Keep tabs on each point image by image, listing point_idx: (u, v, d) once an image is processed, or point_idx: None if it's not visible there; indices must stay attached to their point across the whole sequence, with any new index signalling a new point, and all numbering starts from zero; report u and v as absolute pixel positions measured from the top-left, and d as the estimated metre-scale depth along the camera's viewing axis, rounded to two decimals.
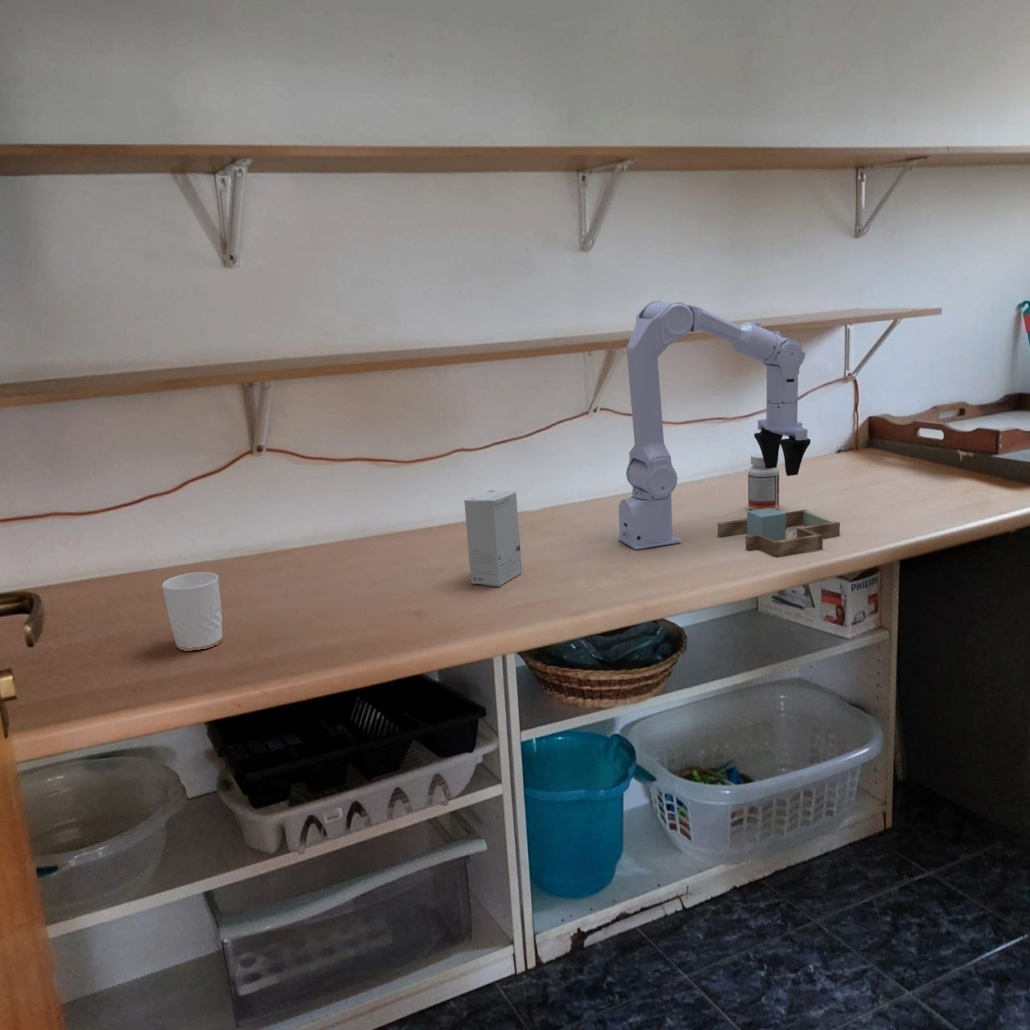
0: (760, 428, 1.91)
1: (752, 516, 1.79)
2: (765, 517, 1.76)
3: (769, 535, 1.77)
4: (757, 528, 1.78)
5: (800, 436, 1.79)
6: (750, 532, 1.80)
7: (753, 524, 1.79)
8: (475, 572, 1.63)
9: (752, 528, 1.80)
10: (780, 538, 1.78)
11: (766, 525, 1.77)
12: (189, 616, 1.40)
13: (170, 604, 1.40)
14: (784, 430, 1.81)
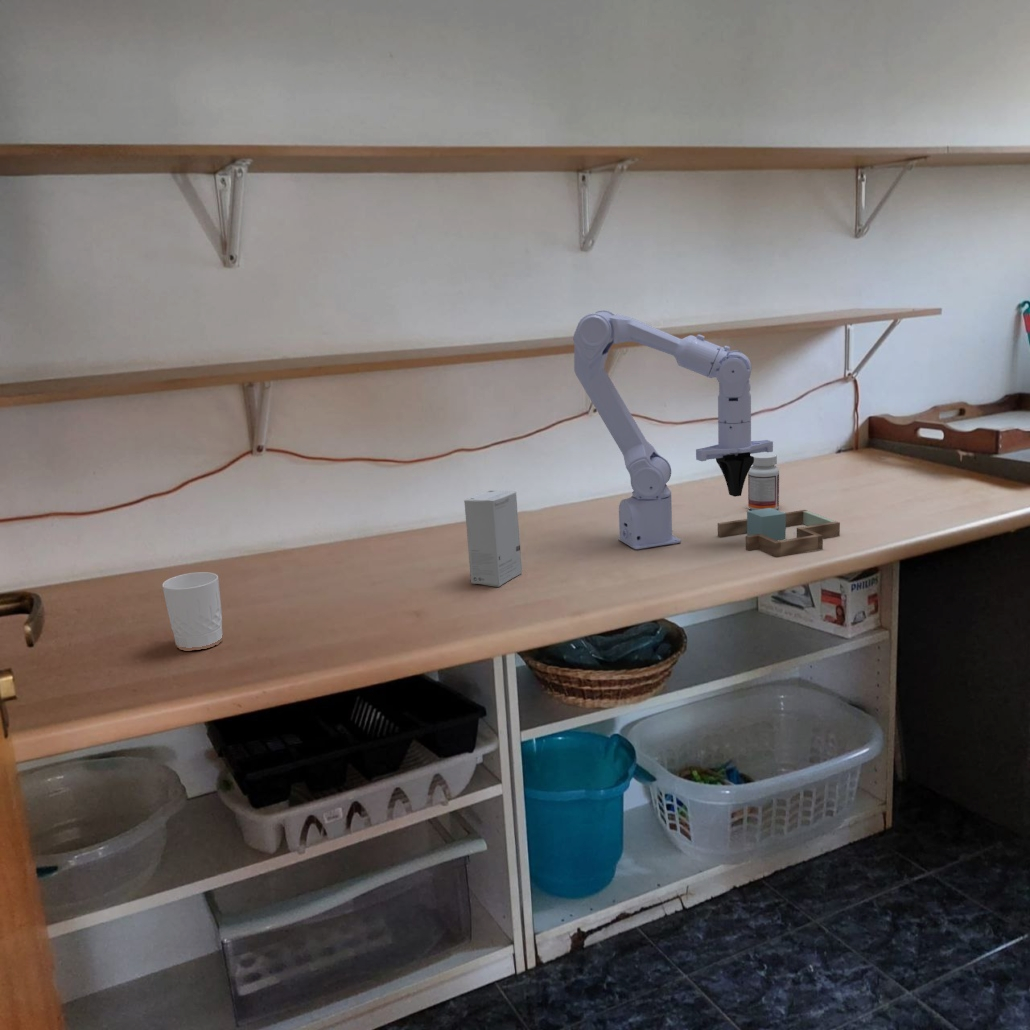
0: None
1: (752, 516, 1.79)
2: (765, 517, 1.76)
3: (769, 535, 1.77)
4: (757, 528, 1.78)
5: (697, 456, 1.72)
6: (750, 532, 1.80)
7: (753, 524, 1.79)
8: (475, 572, 1.63)
9: (752, 528, 1.80)
10: (780, 538, 1.78)
11: (766, 525, 1.77)
12: (189, 616, 1.40)
13: (170, 604, 1.40)
14: None
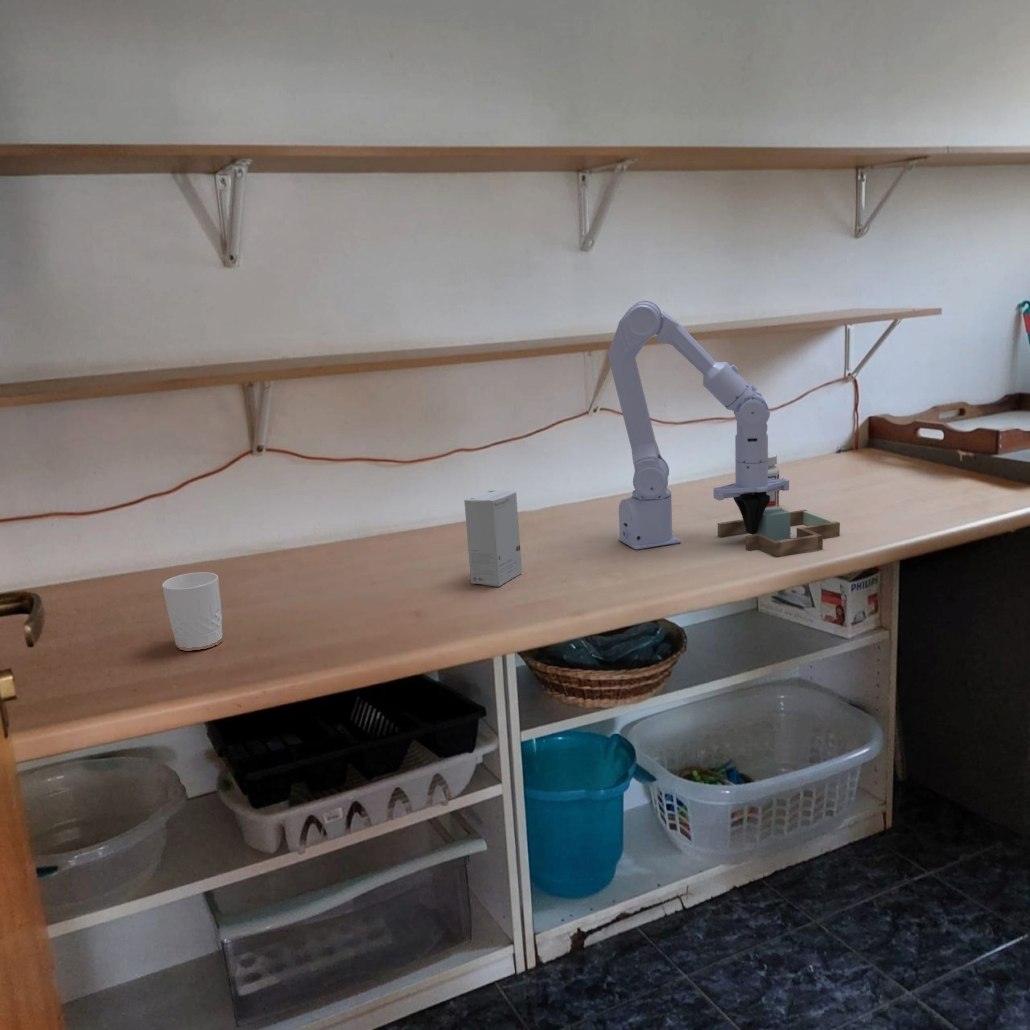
0: None
1: None
2: (770, 516, 1.76)
3: (774, 534, 1.77)
4: (762, 526, 1.78)
5: (714, 495, 1.75)
6: None
7: None
8: (475, 572, 1.63)
9: None
10: (785, 537, 1.78)
11: (771, 523, 1.77)
12: (189, 616, 1.40)
13: (170, 604, 1.40)
14: None
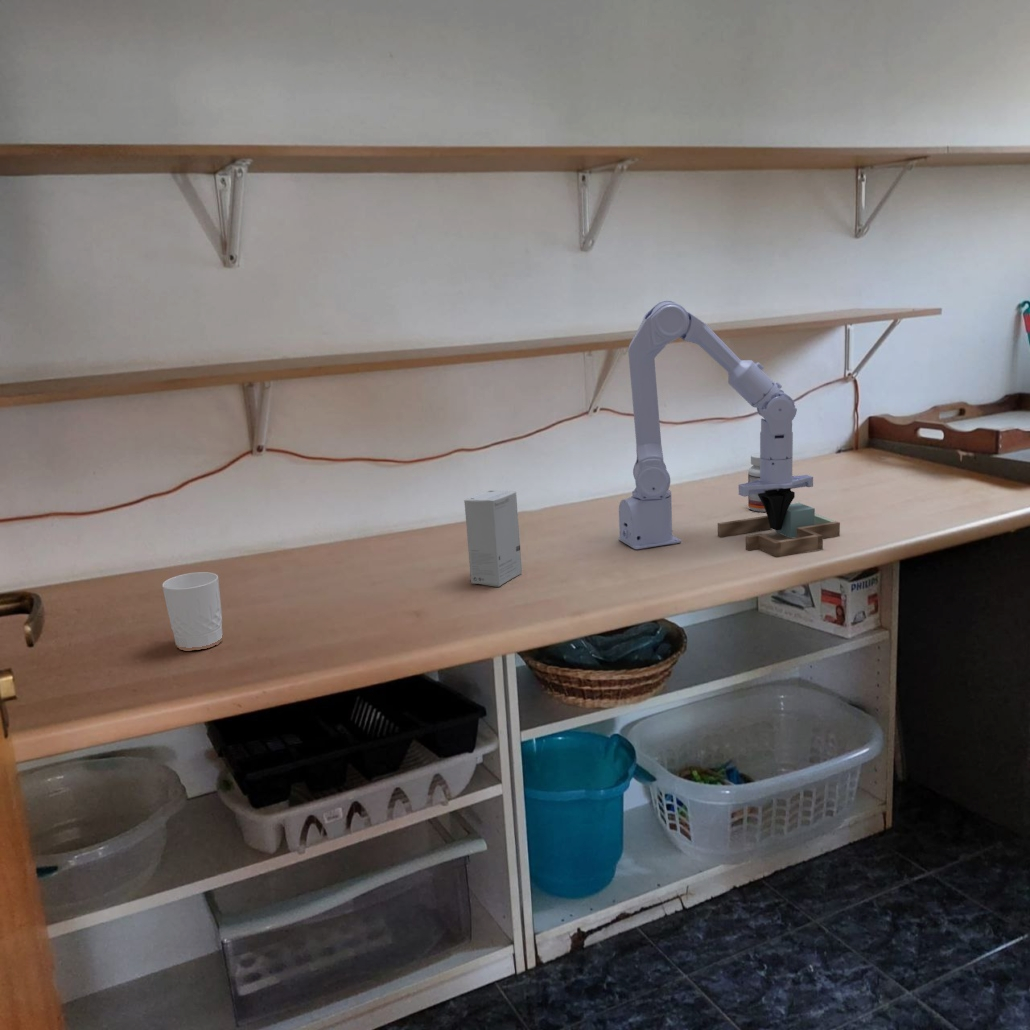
0: None
1: None
2: (794, 512, 1.78)
3: None
4: (786, 523, 1.79)
5: (739, 491, 1.77)
6: None
7: None
8: (475, 572, 1.63)
9: None
10: None
11: (795, 519, 1.78)
12: (189, 616, 1.40)
13: (170, 604, 1.40)
14: None
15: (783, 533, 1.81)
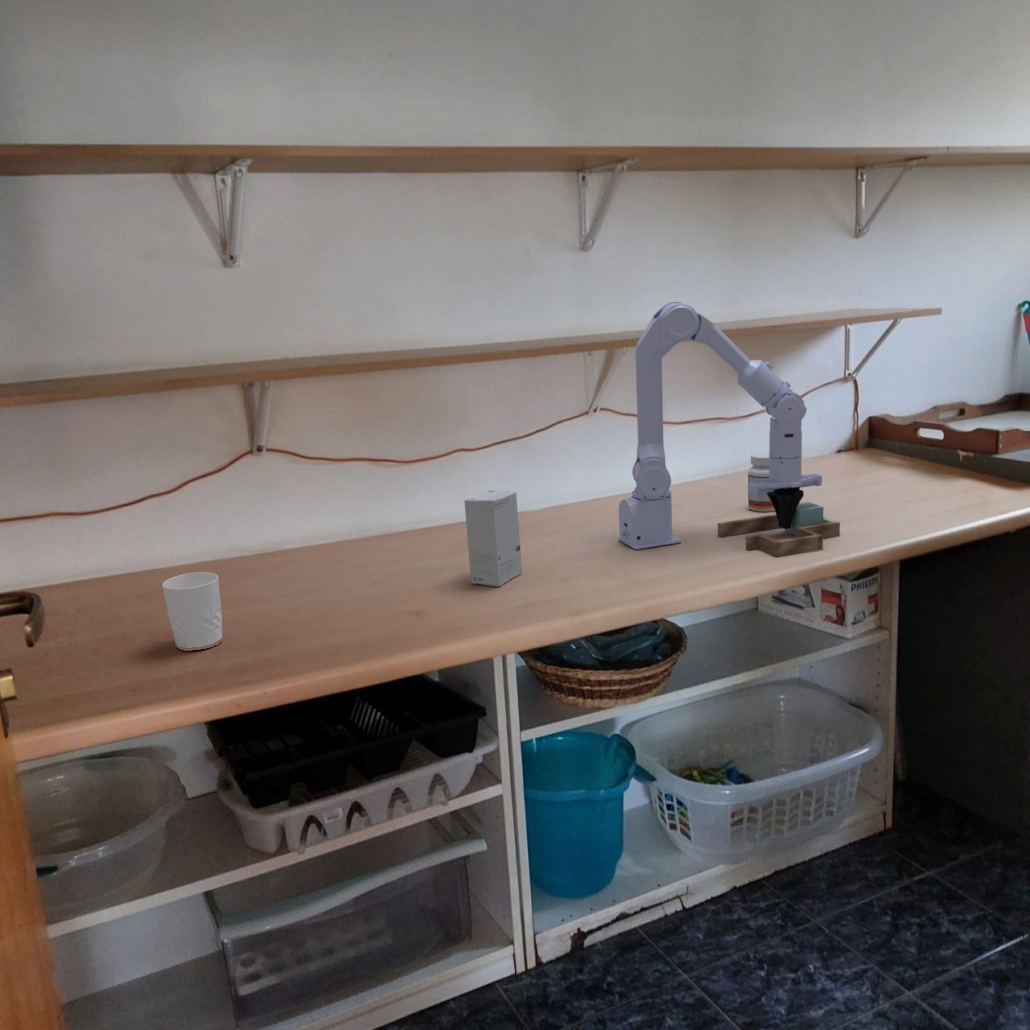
0: None
1: None
2: (803, 511, 1.78)
3: None
4: (795, 521, 1.80)
5: (749, 490, 1.77)
6: None
7: None
8: (475, 572, 1.63)
9: None
10: None
11: (804, 518, 1.79)
12: (189, 616, 1.40)
13: (170, 604, 1.40)
14: None
15: (792, 532, 1.82)
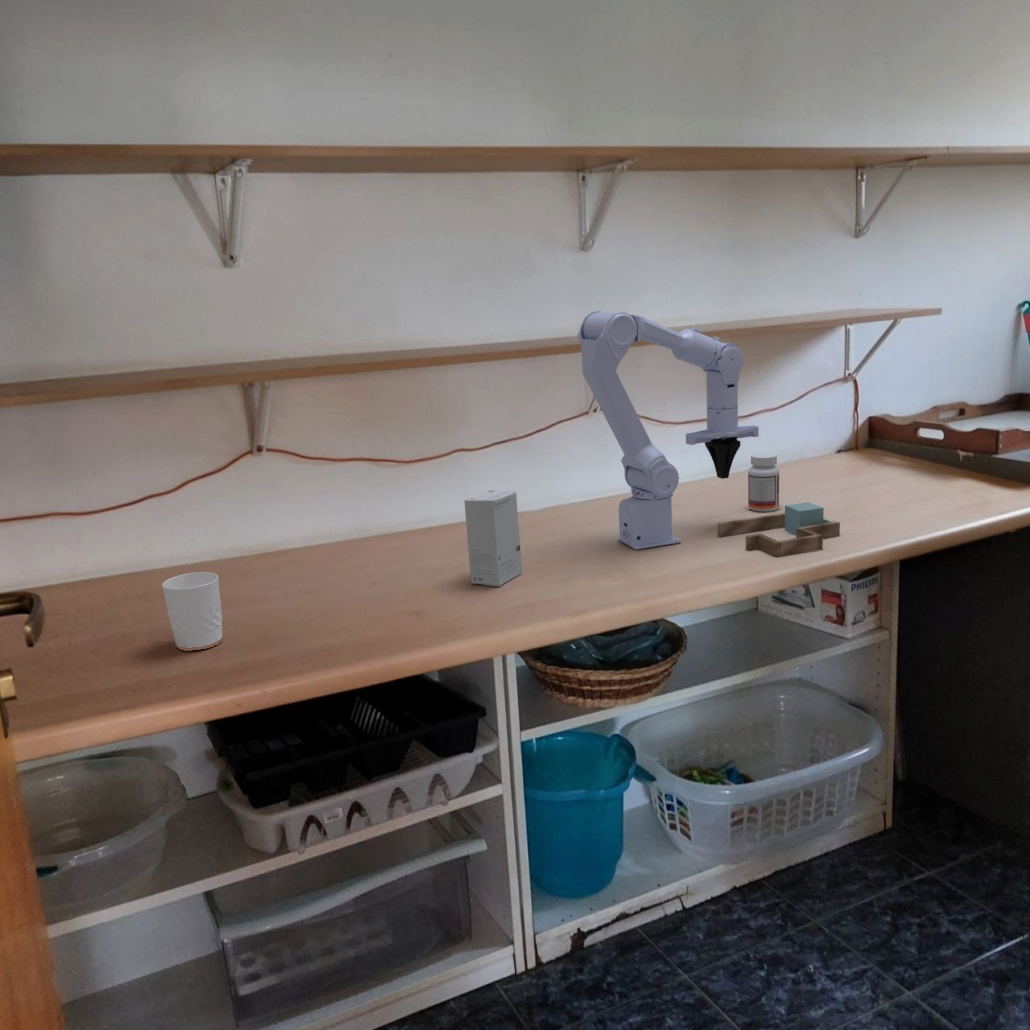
0: None
1: (790, 510, 1.81)
2: (803, 511, 1.78)
3: None
4: (795, 522, 1.80)
5: (686, 440, 1.83)
6: (788, 526, 1.82)
7: (791, 518, 1.81)
8: (475, 572, 1.63)
9: (790, 522, 1.82)
10: None
11: (804, 519, 1.79)
12: (189, 616, 1.40)
13: (170, 604, 1.40)
14: None
15: (792, 532, 1.82)
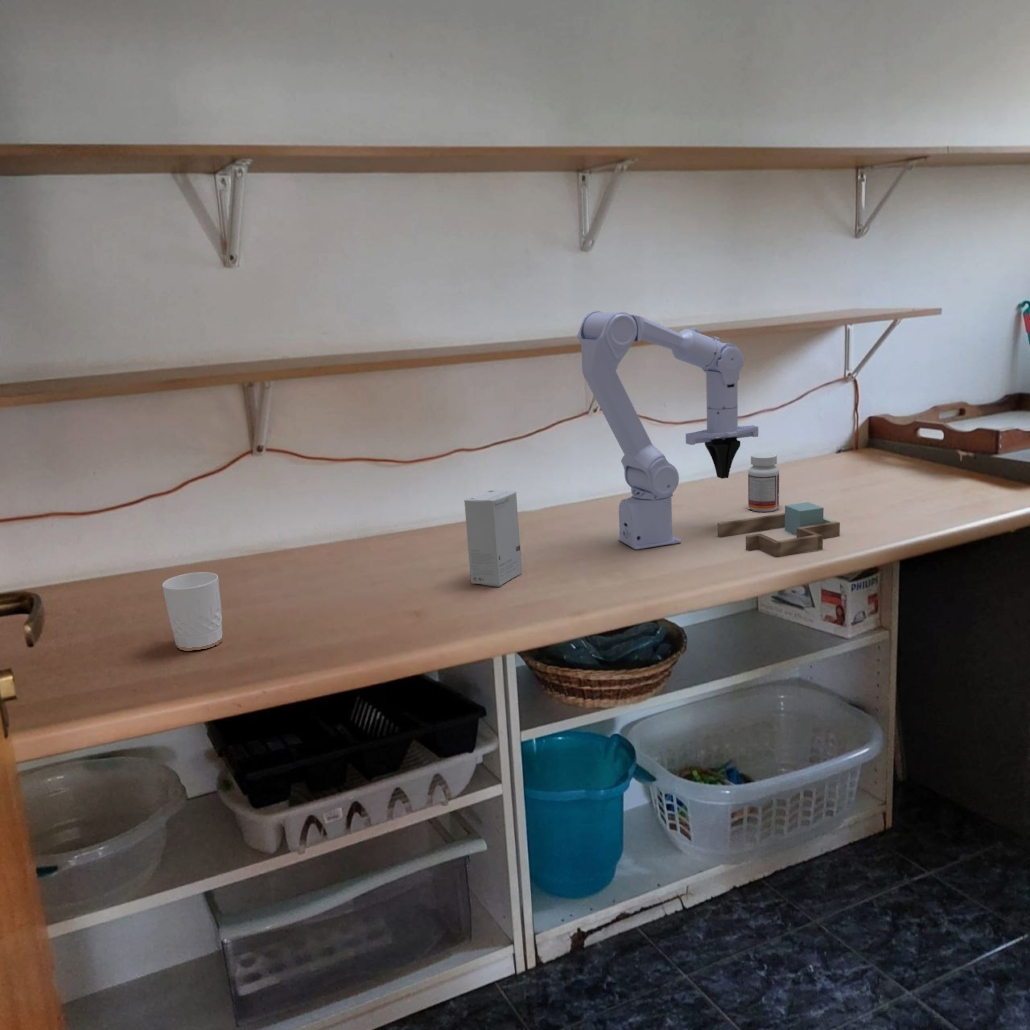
0: None
1: (790, 510, 1.81)
2: (803, 511, 1.78)
3: None
4: (795, 522, 1.80)
5: (686, 440, 1.83)
6: (788, 526, 1.82)
7: (791, 518, 1.81)
8: (475, 572, 1.63)
9: (790, 522, 1.82)
10: None
11: (804, 519, 1.79)
12: (189, 616, 1.40)
13: (170, 604, 1.40)
14: None
15: (792, 532, 1.82)
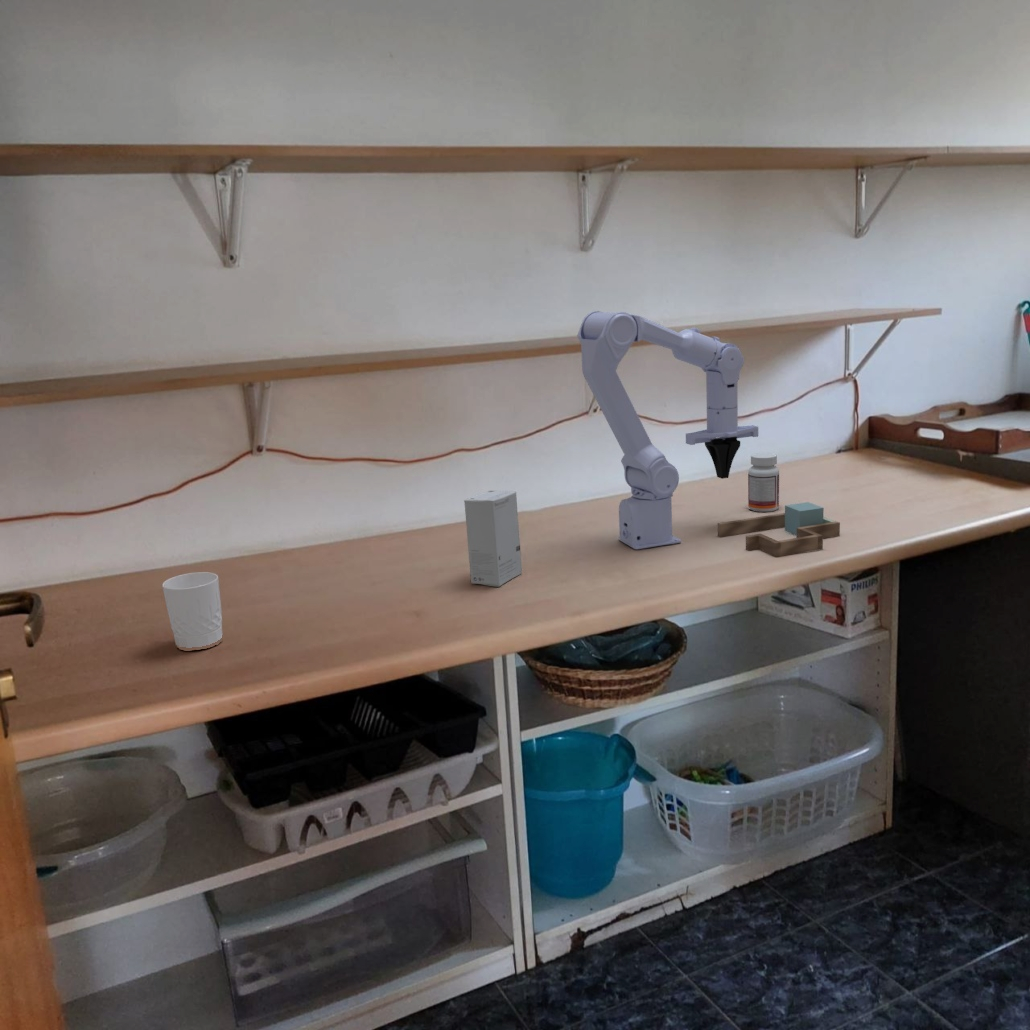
0: None
1: (790, 510, 1.81)
2: (803, 511, 1.78)
3: None
4: (795, 522, 1.80)
5: (686, 440, 1.83)
6: (788, 526, 1.82)
7: (791, 518, 1.81)
8: (475, 572, 1.63)
9: (790, 522, 1.82)
10: None
11: (804, 519, 1.79)
12: (189, 616, 1.40)
13: (170, 604, 1.40)
14: None
15: (792, 532, 1.82)
